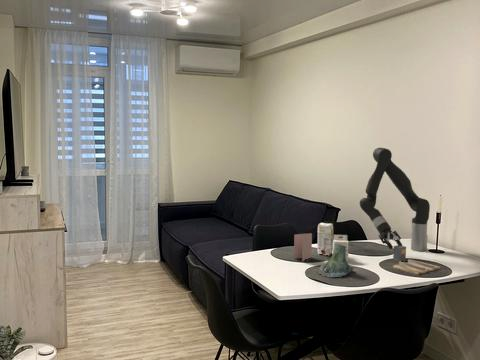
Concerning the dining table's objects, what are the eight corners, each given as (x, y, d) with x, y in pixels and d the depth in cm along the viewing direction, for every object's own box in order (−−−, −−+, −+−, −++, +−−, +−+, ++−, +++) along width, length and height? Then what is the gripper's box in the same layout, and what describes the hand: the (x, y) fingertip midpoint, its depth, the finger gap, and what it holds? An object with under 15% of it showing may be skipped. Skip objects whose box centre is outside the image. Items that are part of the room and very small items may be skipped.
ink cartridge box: (333, 261, 270) (333, 236, 269) (332, 258, 275) (333, 234, 274) (348, 261, 270) (348, 236, 268) (347, 259, 274) (347, 234, 273)
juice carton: (329, 256, 281) (329, 225, 279) (316, 254, 285) (316, 224, 283) (333, 253, 287) (334, 223, 285) (320, 251, 291) (321, 222, 290)
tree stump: (307, 271, 251) (313, 239, 252) (335, 275, 261) (341, 243, 262) (329, 279, 235) (335, 244, 236) (358, 282, 244) (364, 249, 246)
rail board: (415, 261, 268) (415, 257, 268) (440, 268, 255) (440, 264, 254) (392, 267, 257) (392, 263, 257) (417, 274, 244) (417, 270, 244)
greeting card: (310, 257, 278) (311, 233, 277) (316, 260, 271) (317, 235, 270) (293, 259, 275) (293, 234, 273) (298, 262, 268) (299, 236, 266)
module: (398, 259, 274) (398, 245, 274) (405, 261, 270) (406, 246, 269) (393, 260, 272) (393, 246, 271) (400, 262, 268) (401, 247, 267)
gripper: (377, 222, 274) (392, 245, 266) (393, 220, 282) (408, 242, 274) (370, 229, 279) (384, 252, 271) (385, 227, 287) (400, 249, 278)
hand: (396, 247), depth 272 cm, fingers open, 8 cm apart
